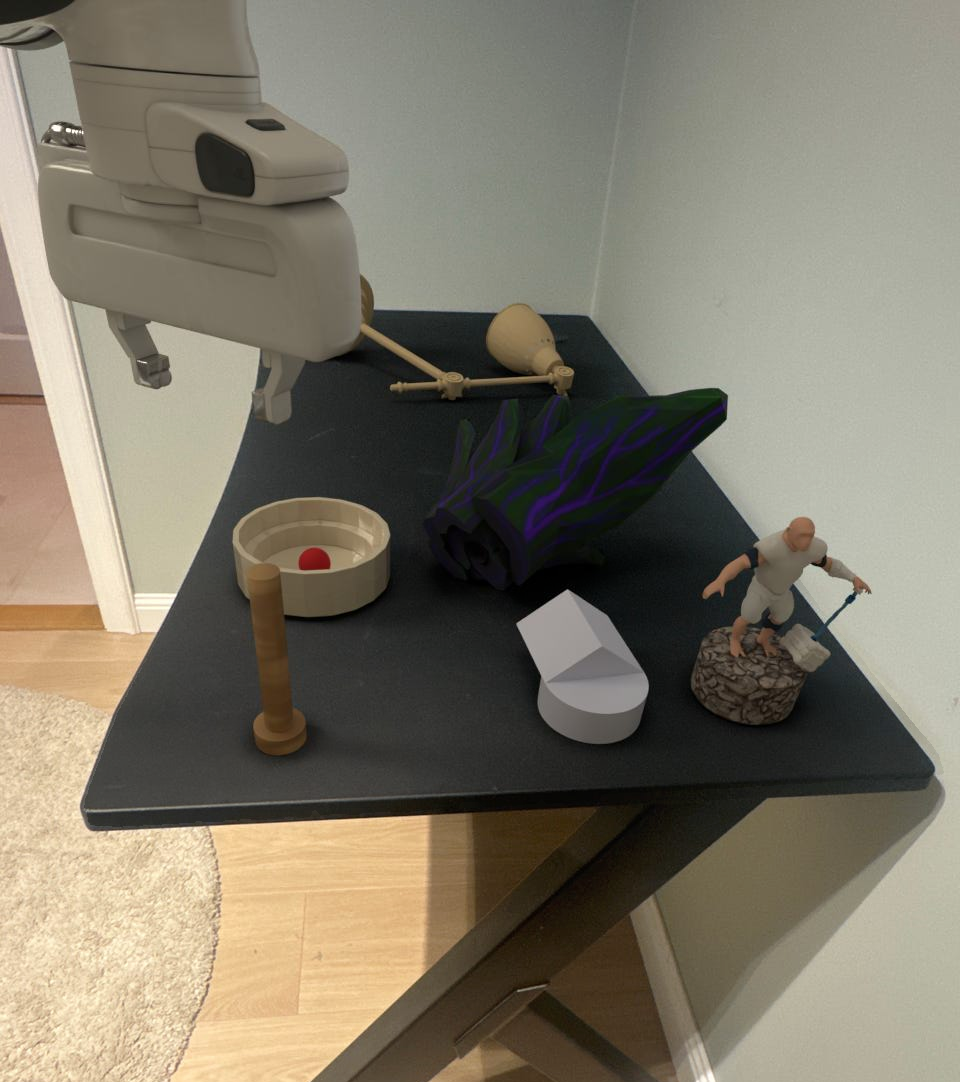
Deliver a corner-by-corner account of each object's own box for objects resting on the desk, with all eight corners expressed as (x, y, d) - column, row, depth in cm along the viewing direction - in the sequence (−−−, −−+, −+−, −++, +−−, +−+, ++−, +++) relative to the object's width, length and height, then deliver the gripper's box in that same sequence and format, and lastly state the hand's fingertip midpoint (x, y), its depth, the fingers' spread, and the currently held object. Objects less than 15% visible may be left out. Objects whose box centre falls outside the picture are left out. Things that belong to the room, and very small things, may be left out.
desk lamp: (289, 280, 124) (471, 393, 109) (441, 233, 143) (614, 323, 127) (295, 366, 135) (460, 478, 120) (435, 311, 154) (593, 403, 139)
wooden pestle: (254, 758, 60) (231, 589, 50) (255, 723, 63) (233, 557, 53) (308, 752, 61) (294, 585, 51) (305, 718, 64) (292, 554, 54)
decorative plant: (433, 627, 91) (584, 492, 104) (604, 662, 71) (762, 490, 85) (348, 471, 81) (528, 344, 94) (520, 461, 61) (714, 303, 75)
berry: (300, 586, 78) (298, 558, 76) (298, 569, 80) (296, 542, 79) (332, 584, 79) (331, 557, 77) (330, 567, 81) (328, 541, 79)
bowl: (237, 627, 73) (230, 577, 69) (240, 545, 84) (234, 499, 81) (398, 616, 76) (399, 568, 73) (379, 539, 88) (379, 495, 85)
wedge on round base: (512, 652, 73) (556, 750, 63) (520, 592, 69) (568, 687, 59) (601, 643, 75) (657, 736, 65) (613, 585, 71) (676, 675, 61)
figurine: (682, 731, 66) (741, 547, 55) (648, 667, 73) (695, 492, 62) (837, 722, 68) (923, 544, 58) (791, 660, 75) (859, 491, 64)
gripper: (-19, 117, 41) (48, 379, 49) (299, 168, 35) (315, 459, 43) (79, 115, 46) (125, 355, 54) (376, 160, 39) (377, 423, 47)
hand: (212, 401), depth 48 cm, fingers open, 8 cm apart
